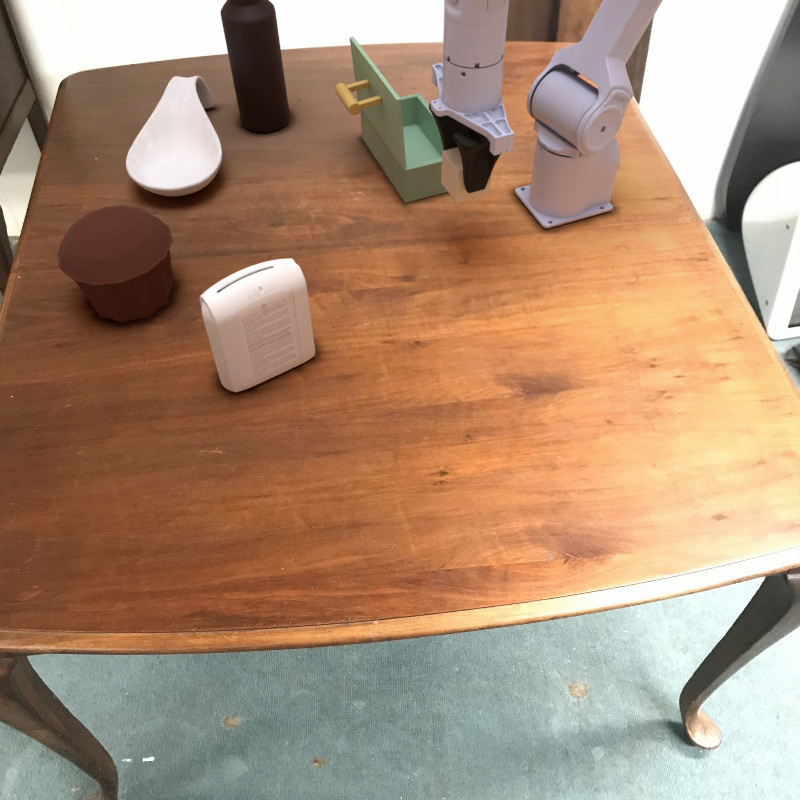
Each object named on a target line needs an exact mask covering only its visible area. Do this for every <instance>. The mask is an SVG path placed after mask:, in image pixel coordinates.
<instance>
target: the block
mask: <svg viewBox="0 0 800 800" xmlns="http://www.w3.org/2000/svg"><path fill="white" fill-rule="evenodd" d="M492 173H493V172H492ZM492 173H491V175H490V178H489V180H488V183H487V185H486V188H485V189H484V190H480V191H476V192H472V193H468V192H467V191H466V189H465V185H464V179H463V165H462V159H461V155H460V151H459V149H458V147H456V148H452V149H448V150H444V151H442V173H441V183H442V185H443V186H444V187H445V189H446V190H447V191H448V192H447V193H448V194H449V195H450V197H451V199H452V200H453V201H454V203H456V204H460V203H463V202H467V201H470V200H473V199H478V198H481V197H485V196H488V195H490V194H491V186H492V176H493V175H492Z"/></svg>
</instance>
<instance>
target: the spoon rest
mask: <svg viewBox="0 0 800 800" xmlns="http://www.w3.org/2000/svg"><path fill="white" fill-rule="evenodd" d="M214 107H215V100H214V96H213V94H212V91H211V90H210V87H209V86H208V84H207V82H205V80H204V79H203V78H202V77H201V76H199V75H194V76H190V77H184V76H179V75H175V76H173V77H172V78H171V79H170V80H169V82H168V83H167V86H166V87H165V89H164V91H163V94H162V96H161V98H160V99H159V101H158V103H157V105H156V107H155V108H154V110H153V111H152V113H151V115H150V116H149V118H148V119H147V120H146V122H145V124H144V125H143V126H142V128H141V129H140V131H139V132H138V134H137V136H136V137H135V139H134V140H133V142H132V144H131V146H130V147H129V149H128V152H127V155H126V158H125V169H126V173H127V174H128V176H129V177H130V179H131V180H132V181H133V182H134V183H135V184H137V185H138V186H139V187H141V188H142V189H144V190H146V191H148V192H150V193H152V194H155V195H158V196H159V195H160V196H165V197H182V196H187V195H191V194H194V193H196V192H198V191H200V190H202V189H204V188H205V187H207V186H208V185H209V184H210V183H211V182H212V181H213V180H214V179H215V177H216V176H217V174H218V172H219V170H220V168H221V165H222V162H223V148H222V144H221V140H220V138H219V136H218V133H217V130H216V129H215V128H214V126H213V123H212V121H211V120H210V118H209V116H208V114H207V112H206V109H211V108H212V109H213V108H214Z"/></svg>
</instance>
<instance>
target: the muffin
mask: <svg viewBox="0 0 800 800" xmlns="http://www.w3.org/2000/svg"><path fill="white" fill-rule="evenodd" d="M173 242H174V241H173V237H172V233H171V229H170V226H169V225H167V223H164V222H163V220H161V219H160V218H159V217H157V216H156V215H155V214H153V213H151V212H150V211H148V210H146V209H144V208H142V207H136V206H131V205H125V204H123V205H122V204H120V205H112V206H104V207H101V208H98V209H95V210H92V211H90V212H88V213H86V214H84V216H81V217H80V218H79V219H78V220H76V221H75V222H73V223H72V224H71V225H70V227H69V229H68V230H67V232H66V233H65V235H64V237H63V238H62V239H61V241H60V244H59V248H58V252H57V260H58V261H57V262H58V267H59V270H60V271H61V272H62V273H63V274H65V275H66V276H67V277H68V278H70V279H71V280H72V281H74V282H75V283H76V284H77V286H78V288H79V289H80V290H81V292H82V293H83V294H84V297H86V299H87V300H88V302H89V304H91V306H92V307H93V310H95V312H96V313H97V314H98V316H99V317H101V318H105V319H111V320H113V321H116V322H119V323H126V322H131V321H135V320H140V319H148V318H149V317H151V316H152V315H153V314H154V313H156V312H157V311H158V310H159V309H161V308H163V307H164V306H166V305H167V304H169V299H170V295H171V292H172V290H173V288H174V279H173V277H174V276H173V269H172V262H171V251H170V249H171V246H172V244H173Z"/></svg>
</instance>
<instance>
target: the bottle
mask: <svg viewBox="0 0 800 800" xmlns="http://www.w3.org/2000/svg"><path fill="white" fill-rule="evenodd" d="M219 13H220V18H221V24H222V30H223V35H224V40H225V44H226V50H227V55H228V61H229V66H230V71H231V76H232V82H233V86H234V93H235V99H236V103H237V109H238V112H239V113H238V114H239V118H240V123H241V125H242V126H243V127H244V128H245V129H247V130H249V131H251V132H254V133H261V134H262V133H263V134H265V133H272V132H275V131H278V130H280V129H282V128H283V127H285V126H286V125H287V124H288V123H289V120H290V117H291V115H290V109H289V100H288V93H287V85H286V79H285V78H286V77H285V71H284V63H283V56H282V50H281V42H280V35H279V34H280V33H279V28H278V27H279V26H278V20H277V11H276V8H275V5H274V3H273V2H272V1H270V0H226V1H225V3H223V6H222V7H221V9H220V12H219Z"/></svg>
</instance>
